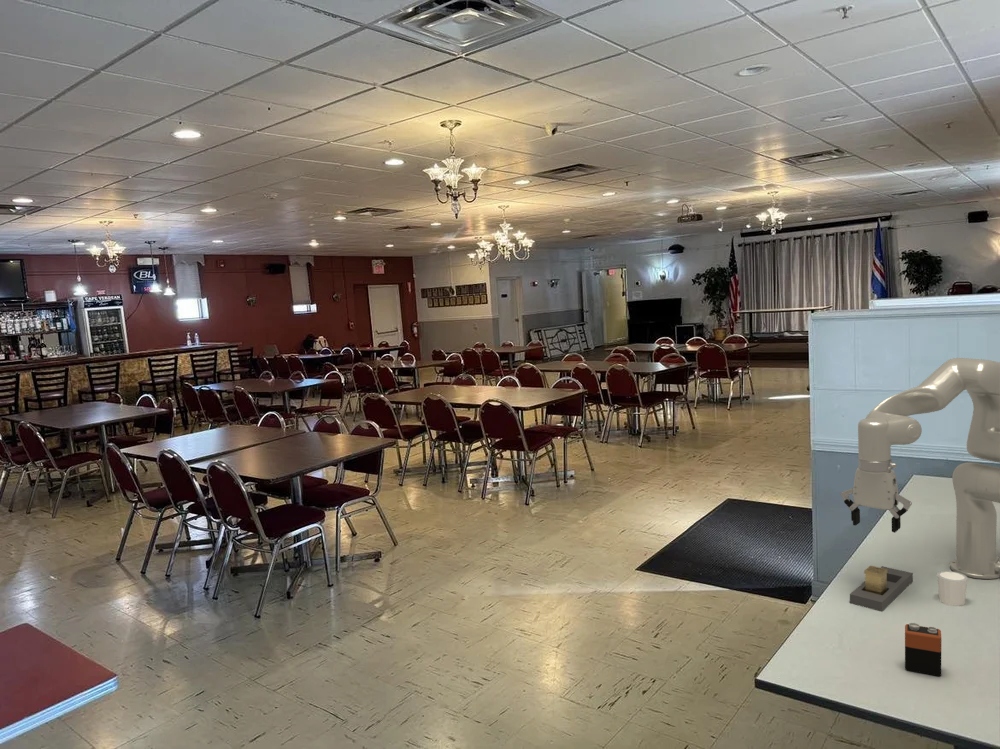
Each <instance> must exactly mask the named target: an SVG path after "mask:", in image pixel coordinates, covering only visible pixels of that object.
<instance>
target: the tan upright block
mask: <svg viewBox="0 0 1000 749" xmlns="http://www.w3.org/2000/svg"><path fill="white" fill-rule="evenodd" d="M887 572H888V569H884V568H881V567H879V566H875V565H869V566H867V567H866V568H865V569H864V570H863V574H864V576H865V578H864V581H865V591H867V592H871V593H875V594H879V595H884V594H885V593H886V592H887Z"/></svg>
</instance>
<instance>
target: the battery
mask: <svg viewBox="0 0 1000 749" xmlns="http://www.w3.org/2000/svg"><path fill="white" fill-rule="evenodd" d="M904 669H905V670H906V671H907V672H908V671H909V672H914V673H919V674H924V675H930V676H935V677H940V676H942V631H941V629H940V628H936V627H934V626H922V625H920V624H918V623H916V622H909V624H907V623H906V624H905V625H904Z"/></svg>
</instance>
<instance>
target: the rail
mask: <svg viewBox="0 0 1000 749" xmlns="http://www.w3.org/2000/svg"><path fill="white" fill-rule="evenodd" d="M880 568H884V569H888V572H887V592H886V593H885V594H884V595H879V594H875V593H871V592H867V591H865V580H864V582H862V583H861V584H860V585H859V586H857V587H856V588H855V589H854V590H853V591H851V592H850V593H849V603H850V604H853V605H856V606H859V605H860V607H863V606H864V607H863V608H867V607H868V609H871V610H875V611H879V612H883V611H884V610H885V609H886V608H887V607H889V605H890V604H891V603H893V601H895V599H896V598H897V597H899V595H901V593H903V592H904V591H905V589H907V588H908V587H909V585H910V584H912V583H913V580H914V578H913V577H914V575H913V573H914V572H909V571H906V570H905V571H904V570H902V569H896V568H892V567H887V566H883V565H882V566H880Z"/></svg>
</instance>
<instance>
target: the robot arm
mask: <svg viewBox="0 0 1000 749" xmlns="http://www.w3.org/2000/svg"><path fill="white" fill-rule="evenodd" d="M964 391H966V392H967V393H968V394H969V396H970V398H971V401H972V406H973V409H972V410H973V411H972V417H971V422H970V425H969V431H968V435H967V441H966V451H967V453H968V455H970V456H972V457H974V458H976V459H977V458H978V459H981V460H985V461H988V462H989V461H990V462H994V463H999V464H1000V361H995V360H990V359H985V358H984V359H982V358H981V359H980V358H969V357H966V358H965V357H952V358H950V359H948V360H946V361H945V362H943V363H942V364H941V365H939V367H938V368H936V369H935V370H934V371H933V372H932V373H931V374H930V375H929V376H928V377H927V378H926V379H924V380H923V381H922V382H921V383H919V385H916V386H915V387H913V388H908V389H907V390H904V391H901V392H898V393H896V394H893V395H891V396H889V397H887V398H885V399H883V400H881V401H880V402H879V403H878V404H877V405H876V406H874V408H873V409H871V411H870V412H869V413H868V414H867V415H866V417H865V418H863V419H861V420H859V422H858V424H857V426H858V427H857V439H858V440H857V441H858V442H857V443H858V447H857V448H858V452H857V453H858V467H857V468H856V470H855V472H854V473H855V474H854V478H853V479H854V480H853V488H850V489H846V490H844V491H842V492H840V496H841V498H842V500H843V502H844V504H845V505H846V506H847V507H848V509H849V511H850V512H851V513H850V518H851V519H850V520H851V521H852V526H857V525H859V524H860V523H861V509H860V507H866V508H867V507H868V508H872V509H879V510H885V511H887V510H888V511H889V513H890V514H891V515H892V518H891V532H892V533H897V532H898V531H899V530H900V529H901V523H902V522H901V517H902V516H903V515H905V514H906V513H907V512H908V511H909V509H910V508H911V506H912V504H913V502H912V501H911V500H909V499H907V498H906V497H904V496H902V495H901V494H899V489H898V481H897V477H896V472H895V470H892V469H897V466H898V464H897V463H896V462H895V463H894V462H893V460H892V458H891V456H892V454H891V450H892V449H891V448H892V446H894V445H895V446H897V445H900V446H904V445H910V444H913V443H916V442H917V441H918V440H919V439H920V437H921V436H922V433H923V432H922V431H923V430H922V425H921V423H920V422H919V421H918V420H917V419H915V418H913V417H910V416H914V415H923V414H930V413H935V412H939V411H942V410H944V409H945V408H947V406H948V405H950V404H951V403H952V402H953V401H954V399H956V398H957V397H958V396H959V395H960V394H962V393H963V392H964ZM951 479H952V485H953V490H954V495H955V500H956V501H955V502H956V507H955V508H956V516H955V517H956V520H955V522H956V529H955V531H956V532H955V534H956V535H955V536H956V537H955V538H956V540H955V541H956V542H955V544H956V546H955V549H956V550H955V559H953V560H951V561H949V562H950V563H949V569H951V571H952V572H957V573H961V574H963V575H965V576H967V578H973V579H978V580H980V579H981V580H982V579H983V580H990V579H991V580H993V579H998V578H1000V556H998V555H997V526H998V525H997V518H998V515H997V511H996V510H997V509H996V506H995V505H994V503H997V504H1000V467H998V466H993V465H988V464H983V463H978V462H970V461H969V462H964V463H961V464H960V463H959V464H958V465H957V466H956V467H955V468H954V470H953V472H952V478H951ZM850 495H852V499H853V500H852V499H851V498H850V497H849V496H850ZM993 502H994V503H993ZM899 503H900V504H901V505H903V506H902V508H901V509H900V508H899V506H898V505H899ZM859 506H860V507H859Z"/></svg>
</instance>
